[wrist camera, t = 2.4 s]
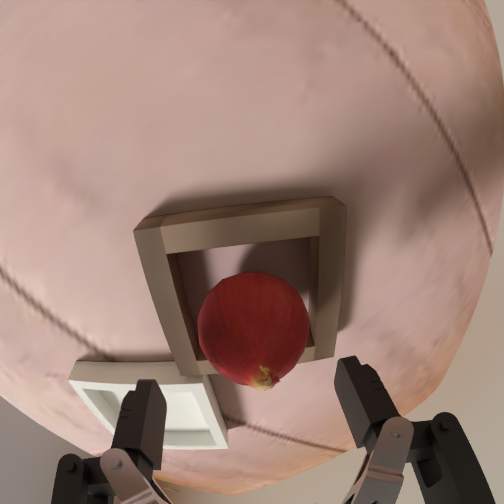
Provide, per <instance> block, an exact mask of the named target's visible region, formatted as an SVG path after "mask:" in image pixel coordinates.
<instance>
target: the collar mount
mask: <svg viewBox="0 0 504 504" xmlns="http://www.w3.org/2000/svg"><path fill="white" fill-rule="evenodd" d="M133 233H134V237H135V241H136V245H137V249H138V252H139V256H140V260H141V263H142V267H143V270H144V274H145V277H146V280H147V284H148V287H149V290H150V293H151V296H152V299H153V302H154V305H155V308H156V311H157V314H158V317H159V320H160V323H161V326H162V329H163V331H164V334H165V337H166V340H167V342H168V345H169V347H170V350H171V353H172V355H173V358H174V360H175V363H176V365H177V368H178V370H179V372H180V375H181V376H190V375H207V374H220V373H219V372H217V371H216V370H215V369H214V368H213V366H212V365H211V364H210V362H209V361H208V359H207V358H206V356H205V354H204V353H203V351H202V349H201V347H200V344H199V341H198V338H197V335H196V331H195V328H194V324H193V321H192V317H191V313H190V310H189V306H188V302H187V298H186V294H185V290H184V286H183V282H182V278H181V274H180V270H179V265H178V261H177V257H176V253H178V252H186V251H194V250H202V249H210V248H218V247H227V246H235V245H243V244H252V243H260V242H269V241H277V240H286V239H295V238H304V237H309V315H308V316H309V320H310V328H309V334H308V339H307V344H306V347H305V350H304V353H303V354H302V356H301V357H300V359H299V360H298V362H297V364H298V363H304V362H310V361H315V360H320V359H325V358H330V357H334V352H335V345H336V338H337V330H338V322H339V313H340V304H341V294H342V282H343V270H344V255H345V236H346V205H345V204H343V203H342V202H340V201H339V200H338V199H336V198H335V197H333V196H331V197H318V198H306V199H294V200H284V201H273V202H264V203H254V204H245V205H237V206H228V207H220V208H212V209H205V210H197V211H190V212H183V213H176V214H169V215H163V216H156V217H150V218H143V219H142V221H141V222H140V223H139V224H138V225H137V227H136V228H135V229H134V230H133Z"/></svg>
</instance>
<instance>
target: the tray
mask: <svg viewBox="0 0 504 504" xmlns="http://www.w3.org/2000/svg"><path fill="white" fill-rule="evenodd" d="M139 379H155V380H156V381H157V383H158V385H159V387H160V389H161V391H162V393H163V395H164V397H165V399H166V403H167V414H166V423H165V431H164V441H163V449H191V450H195V449H227V448H228V430H227V427H226V424H225V421H224V419H223V416H222V413H221V410H220V407H219V405H218V402H217V399H216V396H215V393H214V390H213V387H212V384H211V381H210V378H209V375H208V374H207V375H190V376H181V375H180V372H179V370H178V368H177V365H176V363H175V361H171V362H91V361H76V363H75V365H74V367H73V369H72V371H71V373H70V376H69V378H68V381H69V382H70V384H71V385H72V387H73V388H74V389H75V391H76V392H77V393H78V394H79V396H80V397H81V398H82V400H83V401H84V402H85V403H86V405H87V406H88V407H89V408H90V409H91V411H92V412H93V413H94V414H95V415H96V417H97V418H98V419H99V420H100V421H101V422H102V423H103V424H104V426H105V427H106V428H107V429H108V430H109V431H110V432H111V433H112V434H113V435H114V433H115V429H116V425H117V420H118V418H119V412H120V410H121V404H122V400H123V398H124V397H125V395H126V394H127V393H128V391H129V390H135V388H136V384H137V381H138V380H139Z"/></svg>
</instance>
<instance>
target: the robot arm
mask: <svg viewBox="0 0 504 504" xmlns="http://www.w3.org/2000/svg"><path fill="white" fill-rule="evenodd" d="M334 386H335V391H336V394H337V396H338V399H339V401H340V404H341V407H342V409H343V412H344V414H345V417H346V420H347V422H348V425H349V427H350V430H351V433H352V435H353V438H354V441H355V443H356V446H357V448H361V447H364V446H365V448H366V451H367V453H366V455H365V458H364V460H363V463H362V465H361V467H360V469H359V472H358V474H357V476H356V478H355V480H354V482H353V485H352V486H351V488H350V490H349V492H348V494H347V495H346V497H345V498H344V500H343V502H342V504H395V503H396V500H397V498H398V495H399V492H400V490H401V487H402V484H403V480H404V476H403V475H402V472H403V469H404V466H405V463H409V462H411V464H412V467H413V469H414V472H415V475H416V478H417V480H418V483H419V486H420V489H421V492H422V495H423V498H424V501H425V504H495V501H494V498H493V496H492V493H491V490H490V488H489V485H488V483H487V480H486V478H485V476H484V473H483V471H482V469H481V466H480V464H479V462H478V460H477V458H476V455H475V454H474V451H473V449H472V447H471V445H470V443H469V441H468V439H467V437H466V435H465V433H464V431H463V429H462V427H461V425H460V423H459V421H458V419H457V418H456V417H455V416H454V415H453V414H451V413H448V412H442V413H439V414H437V415H436V416H435V417H434V418H433V419H432V420H429V421H419V422H411V421H409V420H408V419H406V418H404V417H401V415H400V414H399V413H398V411H397V409H396V407H395V405H394V403H393V402H392V400H391V398H390V396H389V394H388V392H387V390H386V388H384V385H383V383H382V381H381V379H380V377H379V376H378V374H377V372H376V370H374V369H373V368H372V367H371V366H369V365H368V364H365V365H361V364H360V362H359V360H358V358H357V357H356V356H350V357H346V358H341V359H339V360H338V363H337V368H336V374H335V379H334ZM166 414H167V403H166V399H165V397H164V395H163V393H162V391H161V389H160V387H159V385H158V383H157V381H156V380H155V379H139V380H138V381H137V384H136V388H135V390H129V391H128V393H127V394H126V395H125V397H124V398H123V400H122V404H121V410H120V412H119V418H118V420H117V425H116V429H115V433H114V438H113V442H112V446H111V448H110V449H109V450H107V451H105V452H104V453H103V454H102V456H100V457H96V458H88V459H81V458H80V457H79V456H77V455H75V454H66V455H64V456H63V457H62V458H61V459H60V460H59V463H58V467H57V472H56V477H55V482H54V488H53V495H52V501H51V504H113V500H114V496H116V495H117V497H118V499H119V500H120V502H121V504H173V503H172V502H171V501H170V499H169V498H168V497H167V496H166V494H165V493H164V492H163V491H162V489H161V488H160V487H159V485H158V484H157V483H156V481H155V480H154V479H153V477H152V474H153V470H161V462H162V451H163V441H164V431H165V423H166Z"/></svg>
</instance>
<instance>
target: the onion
mask: <svg viewBox="0 0 504 504" xmlns="http://www.w3.org/2000/svg"><path fill="white" fill-rule="evenodd" d="M309 328H310V320H309V316H308V312H307V310H306V307H305V305H304V302H303V300H302V298H301V296H300V295H299V293H298V292H297V290H296V289H294V288H293V287H292V286H291V285H290V284H289V283H287V282H286V281H285V280H284V279H281V278H279V277H276V276H272V275H269V274H266V273H263V272H244V273H240V274H237V275H234V276H231V277H228V278H225V279H222V280H221V281H220V282H219V283H218V284H217V285H216V286H215V287H214V288H212V289H211V290H210V291H209V292H208V294H207V296H206V298H205V300H204V302H203V305H202V307H201V309H200V312H199V315H198V336H199V344H200V347H201V349H202V351H203V353H204V354H205V356H206V358H207V359H208V361H209V362H210V364H211V365H212V366H213V368H214V369H215V370H216V371H217V372H219V373H220V374H221V375H223V376H225V377H227V378H228V379H230V380H232V381H234V382H236V383H238V384H241V385H247V386H251V387H253V388H255V389H257V390H259V391H265V390H269V389H270V388H272V387H273V386H274V385H275V384H276V383H278V382H279V381H280V380H279V379H281V378H283V377H284V376H285V375H286V374H287V373H288V372H290V371H291V370H292V369H293V368H294V367H295V365H296V364H297V362H298V360H299V359H300V357H301V356H302V354H303V353H304V350H305V347H306V344H307V339H308V334H309Z"/></svg>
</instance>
